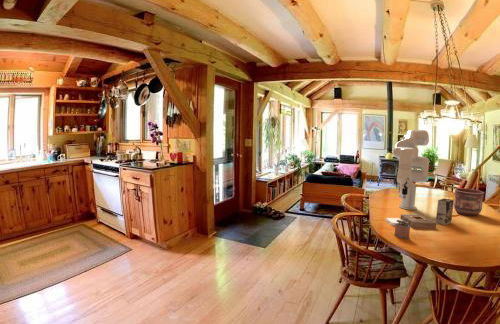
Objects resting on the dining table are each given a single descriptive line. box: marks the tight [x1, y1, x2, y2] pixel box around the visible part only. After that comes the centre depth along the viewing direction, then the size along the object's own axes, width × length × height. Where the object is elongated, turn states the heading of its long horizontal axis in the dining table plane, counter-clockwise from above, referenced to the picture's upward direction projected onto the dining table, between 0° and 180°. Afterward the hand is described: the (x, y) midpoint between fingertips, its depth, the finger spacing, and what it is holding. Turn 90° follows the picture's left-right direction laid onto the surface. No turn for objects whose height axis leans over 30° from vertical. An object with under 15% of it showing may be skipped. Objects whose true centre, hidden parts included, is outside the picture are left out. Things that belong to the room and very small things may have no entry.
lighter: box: [394, 220, 411, 240], centre depth 162 cm, size 8×3×10 cm, turn 44°
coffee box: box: [435, 198, 455, 226], centre depth 186 cm, size 9×6×16 cm
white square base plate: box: [385, 217, 402, 227], centre depth 186 cm, size 10×9×2 cm
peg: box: [398, 183, 407, 199], centre depth 183 cm, size 4×4×10 cm
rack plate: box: [399, 213, 438, 229], centre depth 184 cm, size 16×15×4 cm
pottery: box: [453, 188, 485, 217], centre depth 207 cm, size 18×18×18 cm
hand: (402, 193), depth 183 cm, fingers closed on peg, 4 cm apart
